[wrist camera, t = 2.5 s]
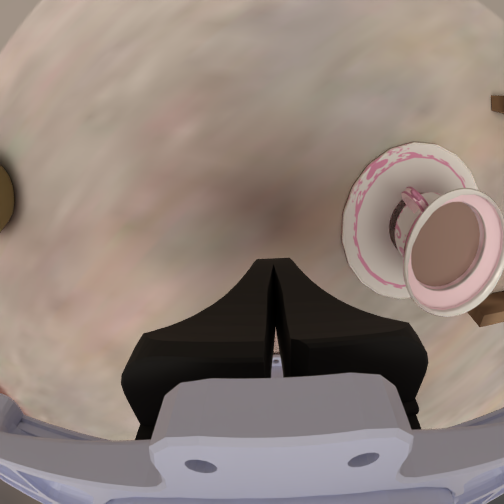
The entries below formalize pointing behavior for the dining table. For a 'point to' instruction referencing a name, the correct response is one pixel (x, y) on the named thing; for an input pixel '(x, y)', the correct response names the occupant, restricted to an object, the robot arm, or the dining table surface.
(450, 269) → the teacup
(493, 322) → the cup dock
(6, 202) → the squeeze bottle
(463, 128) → the dining table surface
